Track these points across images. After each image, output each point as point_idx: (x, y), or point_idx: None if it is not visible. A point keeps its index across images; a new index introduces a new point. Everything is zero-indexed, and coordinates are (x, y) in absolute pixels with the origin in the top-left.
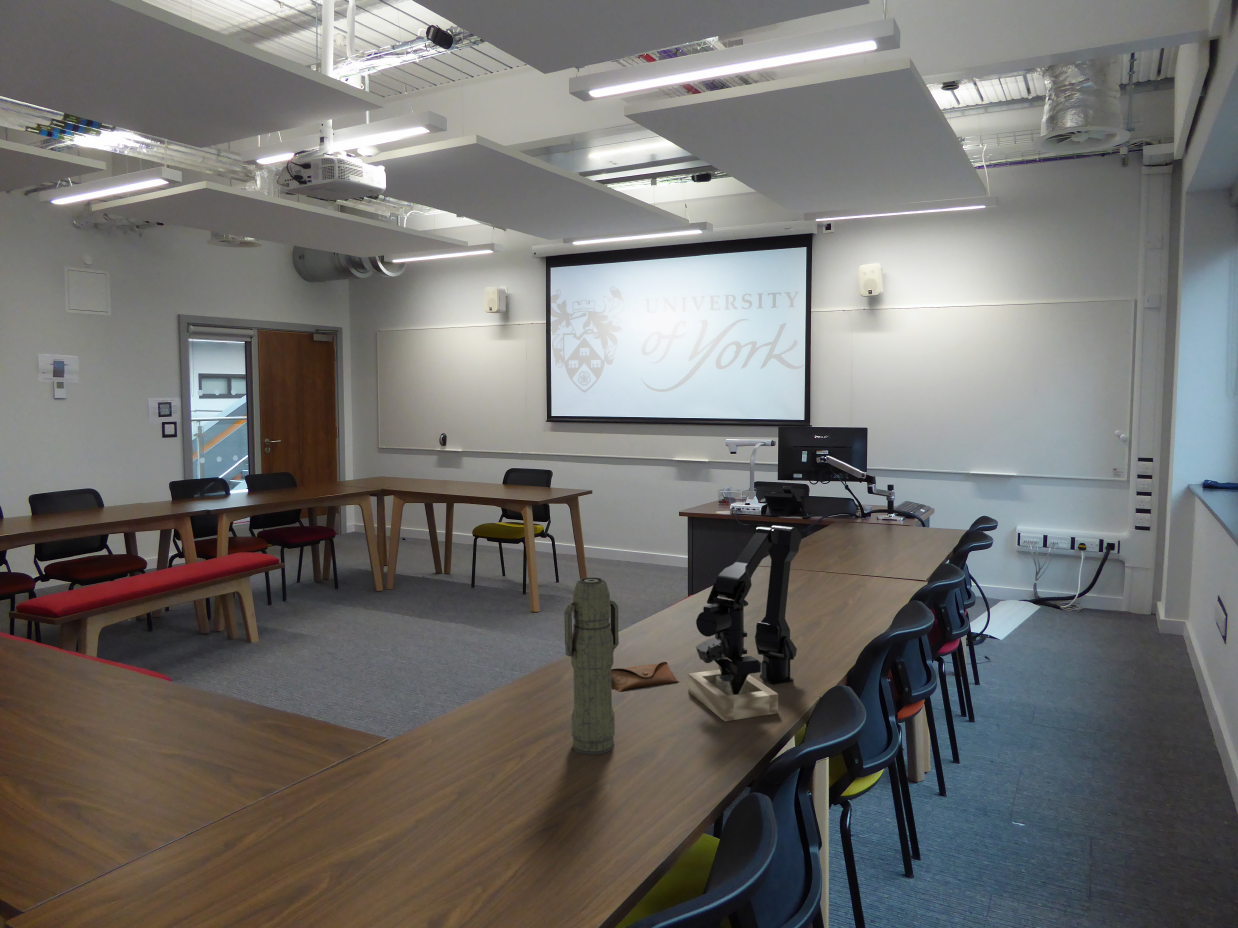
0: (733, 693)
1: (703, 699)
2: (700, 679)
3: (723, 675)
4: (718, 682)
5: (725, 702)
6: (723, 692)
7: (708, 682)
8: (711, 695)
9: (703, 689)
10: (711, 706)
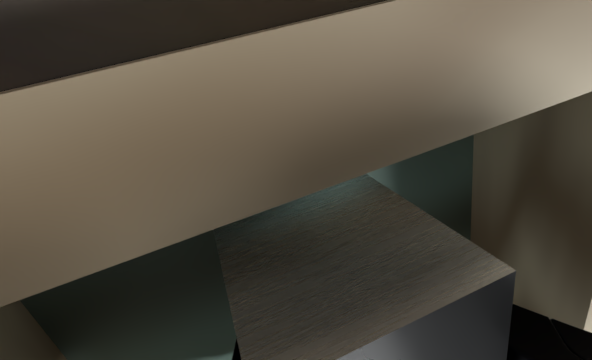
0: None
1: (295, 22)
2: (587, 23)
3: (495, 356)
4: (395, 254)
5: None
6: (233, 261)
7: (462, 118)
8: (39, 84)
9: (345, 11)
10: (88, 71)
